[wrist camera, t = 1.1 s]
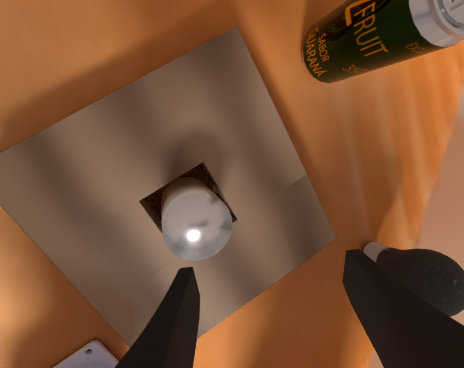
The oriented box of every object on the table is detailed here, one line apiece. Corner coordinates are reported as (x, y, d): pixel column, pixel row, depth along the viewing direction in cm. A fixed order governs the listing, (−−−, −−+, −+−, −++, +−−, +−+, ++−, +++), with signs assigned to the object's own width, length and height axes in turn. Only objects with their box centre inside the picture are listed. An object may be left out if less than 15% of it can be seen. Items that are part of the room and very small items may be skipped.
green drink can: (341, 15, 24) (504, -92, 13) (354, 74, 26) (510, 24, 14) (291, 32, 23) (419, -69, 12) (307, 92, 25) (436, 53, 13)
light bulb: (339, 242, 29) (429, 294, 19) (379, 216, 29) (483, 254, 20) (354, 281, 30) (444, 347, 21) (391, 255, 31) (494, 307, 22)
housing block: (152, 344, 25) (151, 371, 22) (-4, 164, 19) (-32, 169, 16) (318, 227, 28) (337, 237, 25) (226, 40, 22) (236, 25, 19)
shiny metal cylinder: (179, 235, 24) (186, 273, 17) (150, 194, 22) (147, 219, 16) (220, 208, 24) (244, 235, 18) (195, 167, 23) (210, 179, 16)
